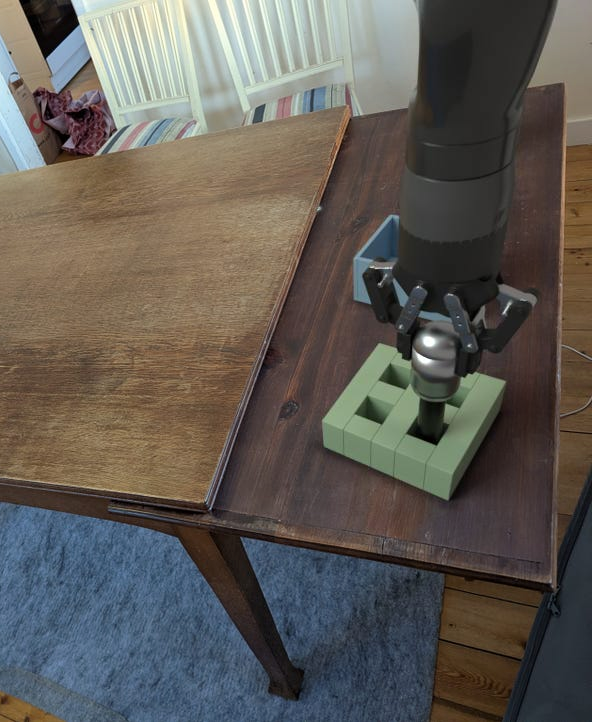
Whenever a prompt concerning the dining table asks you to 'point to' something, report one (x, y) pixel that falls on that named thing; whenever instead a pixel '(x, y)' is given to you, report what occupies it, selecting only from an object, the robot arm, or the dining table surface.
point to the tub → (387, 248)
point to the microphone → (434, 375)
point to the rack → (410, 423)
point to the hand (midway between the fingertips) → (436, 362)
